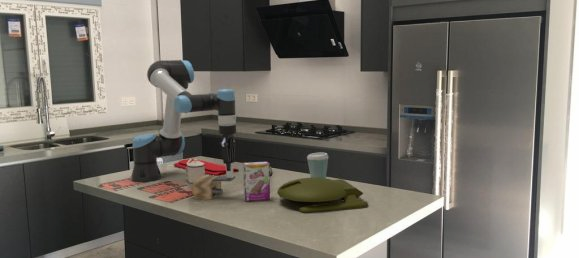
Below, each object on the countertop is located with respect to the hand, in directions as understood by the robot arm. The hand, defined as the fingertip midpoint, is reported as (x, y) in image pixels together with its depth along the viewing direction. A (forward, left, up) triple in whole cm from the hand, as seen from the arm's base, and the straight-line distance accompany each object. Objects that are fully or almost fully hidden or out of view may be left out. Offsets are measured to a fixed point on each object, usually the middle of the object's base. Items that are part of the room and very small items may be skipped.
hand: (230, 177), depth 216 cm
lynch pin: (-9, -5, -9) cm, 14 cm away
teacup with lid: (-40, +8, -10) cm, 42 cm away
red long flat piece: (-60, +29, -10) cm, 67 cm away
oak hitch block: (-11, -4, -9) cm, 15 cm away
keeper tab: (-3, -2, -1) cm, 3 cm away
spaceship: (+32, +22, -10) cm, 40 cm away
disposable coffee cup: (+12, +45, -10) cm, 48 cm away
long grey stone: (-20, +36, -10) cm, 43 cm away
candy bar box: (+11, +6, -10) cm, 16 cm away
